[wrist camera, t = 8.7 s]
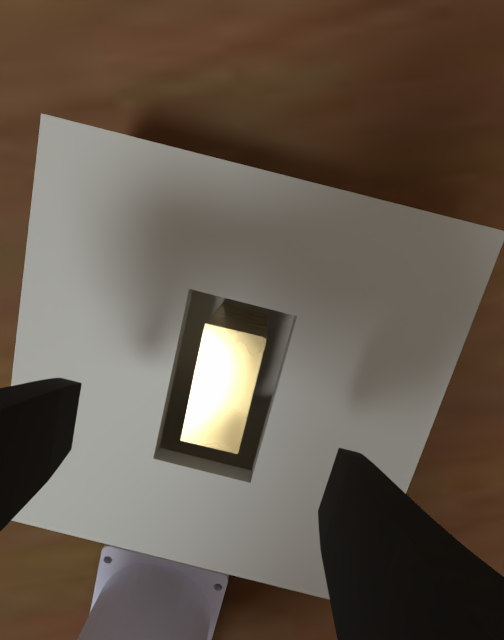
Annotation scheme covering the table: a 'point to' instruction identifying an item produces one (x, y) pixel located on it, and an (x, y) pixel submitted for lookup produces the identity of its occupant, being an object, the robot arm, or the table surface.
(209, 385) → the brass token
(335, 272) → the coin box
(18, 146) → the table surface
